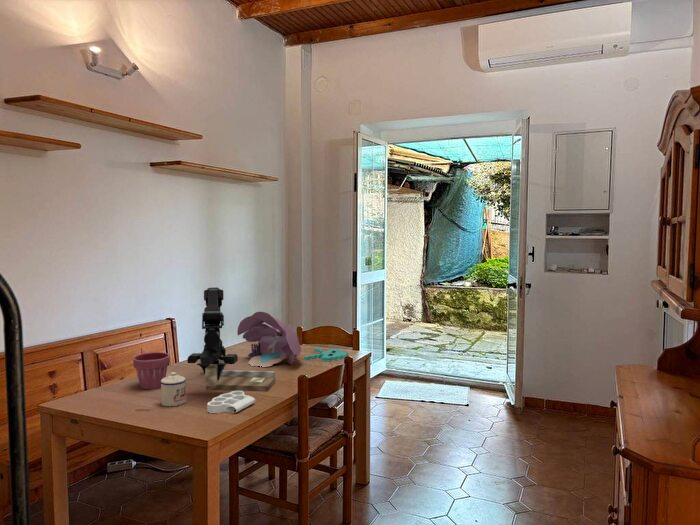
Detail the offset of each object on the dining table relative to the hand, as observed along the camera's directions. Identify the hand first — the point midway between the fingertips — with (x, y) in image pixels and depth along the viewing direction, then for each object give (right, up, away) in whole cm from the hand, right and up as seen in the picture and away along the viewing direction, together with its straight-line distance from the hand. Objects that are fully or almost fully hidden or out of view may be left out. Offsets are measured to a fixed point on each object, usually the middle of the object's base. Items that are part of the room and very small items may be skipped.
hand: (213, 379), depth 197 cm
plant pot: (-28, -5, +10) cm, 31 cm away
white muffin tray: (+10, -7, -13) cm, 18 cm away
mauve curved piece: (+14, -3, +49) cm, 52 cm away
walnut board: (+9, -5, +12) cm, 16 cm away
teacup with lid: (-12, -6, -9) cm, 16 cm away
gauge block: (0, -2, 0) cm, 2 cm away
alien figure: (+43, -3, +63) cm, 76 cm away
